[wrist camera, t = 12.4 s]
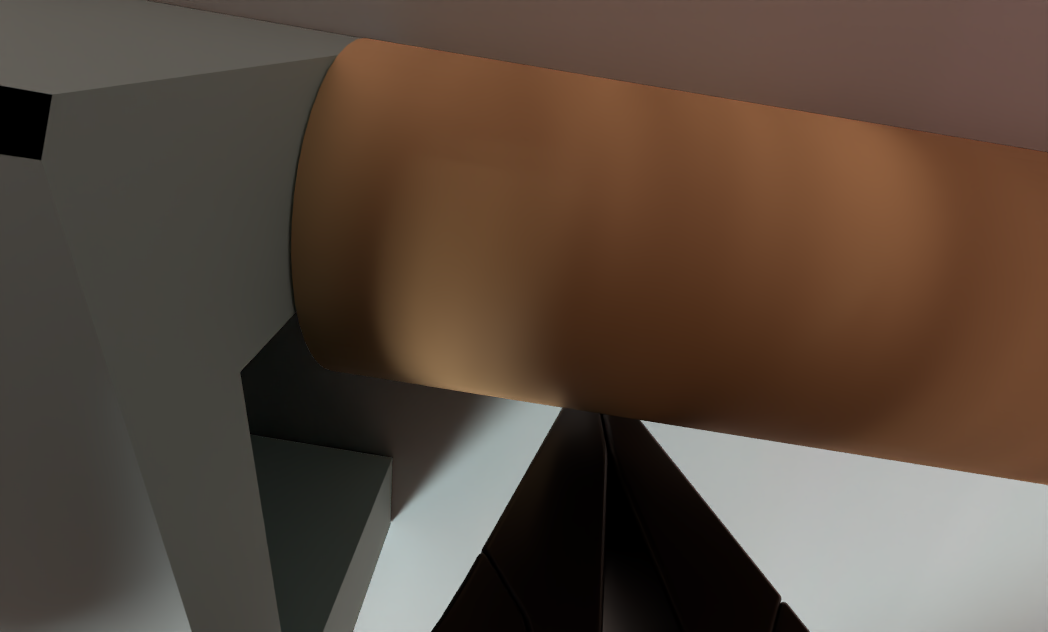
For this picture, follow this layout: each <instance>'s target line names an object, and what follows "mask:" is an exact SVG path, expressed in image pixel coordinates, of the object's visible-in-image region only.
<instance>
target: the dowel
mask: <svg viewBox="0 0 1048 632" xmlns="http://www.w3.org/2000/svg"><path fill="white" fill-rule="evenodd" d="M291 264H292V282H293V291H294V299H295V306H296V311H297V316H298V321H299V325H300V328H301V331H302V335H303V338H304V341H305V343H306V345H307V347H308V349H309V351H310V353H311V355H312V356H313V357H314V359H315V360H316V362H317V363H318V364H320V365H321V366H322V367H323V368H325V369H328V370H331V371H337V372H343V373H349V374H356V375H362V376H368V377H374V378H381V379H387V380H393V381H399V382H406V383H412V384H418V385H425V386H431V387H437V388H443V389H450V390H456V391H462V392H468V393H475V394H481V395H487V396H493V397H500V398H506V399H512V400H519V401H525V402H531V403H537V404H544V405H550V406H556V407H562V408H569V409H575V410H581V411H588V412H594V413H600V414H606V415H613V416H619V417H625V418H631V419H638V420H644V421H650V422H657V423H663V424H669V425H675V426H682V427H688V428H694V429H700V430H707V431H713V432H719V433H725V434H732V435H738V436H744V437H751V438H757V439H763V440H769V441H776V442H782V443H788V444H794V445H801V446H807V447H813V448H820V449H826V450H832V451H838V452H845V453H851V454H857V455H863V456H870V457H876V458H882V459H889V460H895V461H901V462H907V463H914V464H920V465H926V466H932V467H939V468H945V469H951V470H957V471H964V472H970V473H976V474H983V475H989V476H995V477H1001V478H1008V479H1014V480H1020V481H1026V482H1033V483H1039V484H1045V485H1048V152H1043V151H1037V150H1031V149H1025V148H1019V147H1013V146H1007V145H1001V144H995V143H989V142H983V141H977V140H971V139H965V138H959V137H953V136H947V135H941V134H935V133H929V132H923V131H917V130H911V129H905V128H899V127H893V126H887V125H881V124H875V123H869V122H864V121H858V120H852V119H846V118H840V117H834V116H828V115H822V114H816V113H810V112H804V111H798V110H792V109H786V108H780V107H774V106H768V105H762V104H756V103H750V102H744V101H738V100H732V99H726V98H720V97H714V96H708V95H702V94H696V93H690V92H685V91H679V90H673V89H667V88H661V87H655V86H649V85H643V84H637V83H631V82H625V81H619V80H613V79H607V78H601V77H595V76H589V75H583V74H577V73H571V72H565V71H559V70H553V69H547V68H541V67H535V66H529V65H523V64H517V63H511V62H505V61H500V60H494V59H488V58H482V57H476V56H470V55H464V54H458V53H452V52H446V51H440V50H434V49H428V48H422V47H416V46H410V45H404V44H398V43H392V42H386V41H380V40H374V39H368V38H362V39H357V40H355V41H353V42H351V43H350V44H348V45H347V46H346V47H345V48H344V49H343V50H342V51H341V52H340V53H339V54H338V56H337V57H336V59H335V60H334V62H333V63H332V65H331V66H330V68H329V70H328V72H327V74H326V76H325V78H324V80H323V82H322V84H321V86H320V88H319V91H318V94H317V96H316V99H315V102H314V105H313V107H312V110H311V113H310V117H309V121H308V124H307V128H306V131H305V135H304V139H303V144H302V149H301V154H300V159H299V163H298V170H297V177H296V184H295V191H294V201H293V213H292V229H291Z"/></svg>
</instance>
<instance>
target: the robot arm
mask: <svg viewBox="0 0 1048 632" xmlns="http://www.w3.org/2000/svg"><path fill="white" fill-rule="evenodd" d="M431 632H810V631H809V630H808V629H807V628H806V626H805V625H804V624H803V623H802V621H801V620H800V619H799V618H798V616H797V615H796V614H795V613H794V611H793V610H792V609H791V608H790V606H789V605H788V604H787V603H785V602H781V596H780V594H779V593H778V592H777V591H776V589H775V588H774V587H773V586H772V584H771V583H770V582H769V581H768V579H767V578H766V577H765V576H764V574H763V573H762V572H761V571H760V569H759V568H758V567H757V566H756V564H755V563H754V562H753V561H752V559H751V558H750V557H749V556H748V554H747V553H746V552H745V551H744V549H743V548H742V547H741V546H740V544H739V543H738V542H737V541H736V539H735V538H734V537H733V536H732V534H731V533H730V532H729V531H728V529H727V528H726V527H725V526H724V524H723V523H722V522H721V521H720V519H719V518H718V517H717V516H716V514H715V513H714V512H713V511H712V509H711V508H710V507H709V506H708V504H707V503H706V502H705V501H704V499H703V498H702V497H701V496H700V494H699V493H698V492H697V491H696V489H695V488H694V487H693V486H692V484H691V483H690V482H689V481H688V479H687V478H686V477H685V476H684V474H683V473H682V472H681V471H680V469H679V468H678V467H677V466H676V464H675V463H674V462H673V461H672V459H671V458H670V457H669V456H668V454H667V453H666V452H665V451H664V449H663V448H662V447H661V446H660V444H659V443H658V442H657V441H656V439H655V438H654V437H653V436H652V434H651V433H650V432H649V431H648V429H647V428H646V427H645V426H644V424H643V423H642V422H641V421H640V420H638V419H631V418H625V417H619V416H613V415H606V414H600V413H594V412H588V411H581V410H575V409H569V408H562V409H561V411H560V413H559V415H558V416H557V418H556V420H555V422H554V423H553V425H552V427H551V429H550V430H549V432H548V434H547V436H546V437H545V439H544V441H543V443H542V445H541V446H540V448H539V450H538V452H537V453H536V455H535V457H534V459H533V460H532V462H531V464H530V466H529V467H528V469H527V471H526V473H525V475H524V476H523V478H522V480H521V482H520V483H519V485H518V487H517V489H516V490H515V492H514V494H513V496H512V497H511V499H510V501H509V503H508V505H507V506H506V508H505V510H504V512H503V513H502V515H501V517H500V519H499V520H498V522H497V524H496V526H495V527H494V529H493V531H492V533H491V535H490V536H489V538H488V540H487V542H486V543H485V545H484V547H483V549H482V552H481V554H479V555H478V557H477V558H476V560H475V562H474V564H473V565H472V567H471V569H470V571H469V572H468V574H467V576H466V578H465V579H464V581H463V583H462V584H461V586H460V588H459V589H458V591H457V592H456V594H455V596H454V597H453V599H452V600H451V602H450V604H449V605H448V607H447V609H446V610H445V612H444V613H443V615H442V617H441V618H440V620H439V621H438V623H437V624H436V625H435V627H434V628H433V630H432V631H431Z"/></svg>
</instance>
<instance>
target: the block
mask: <svg viewBox="0 0 1048 632" xmlns="http://www.w3.org/2000/svg"><path fill="white" fill-rule="evenodd" d="M357 39H362V38H357V37H352V36H346V35H340V34H334V33H329V32H323V31H317V30H312V29H306V28H300V27H294V26H289V25H283V24H277V23H272V22H266V21H260V20H255V19H249V18H243V17H237V16H232V15H226V14H220V13H215V12H209V11H203V10H197V9H192V8H186V7H180V6H175V5H169V4H163V3H157V2H152V1H146V0H0V632H353V630H354V627H355V624H356V621H357V618H358V615H359V612H360V610H361V607H362V604H363V601H364V598H365V595H366V592H367V590H368V587H369V584H370V581H371V578H372V575H373V572H374V570H375V567H376V564H377V561H378V558H379V555H380V553H381V550H382V547H383V544H384V541H385V538H386V535H387V533H388V530H389V527H390V521H391V489H392V458H391V457H385V456H379V455H373V454H366V453H360V452H354V451H348V450H342V449H336V448H330V447H324V446H318V445H311V444H305V443H299V442H293V441H287V440H281V439H275V438H269V437H263V436H257V435H250V432H249V425H248V419H247V413H246V406H245V400H244V394H243V388H242V381H241V375H240V371H241V370H242V369H243V368H244V367H245V366H246V365H247V364H248V363H249V362H250V361H251V360H252V359H253V358H254V356H255V355H256V354H257V353H258V352H259V351H260V350H261V349H262V348H263V347H264V346H265V345H266V344H267V343H268V342H269V340H270V339H271V338H272V337H273V336H274V335H275V334H276V333H277V332H278V331H279V330H280V329H281V328H282V327H283V325H284V324H285V323H286V322H287V321H288V320H289V319H290V318H291V317H292V316H293V315H294V314H295V313H296V312H297V311H296V306H295V299H294V291H293V282H292V264H291V229H292V213H293V201H294V191H295V184H296V177H297V170H298V163H299V159H300V154H301V149H302V144H303V139H304V135H305V131H306V128H307V124H308V121H309V117H310V113H311V110H312V107H313V105H314V102H315V99H316V96H317V94H318V91H319V88H320V86H321V84H322V82H323V80H324V78H325V76H326V74H327V72H328V70H329V68H330V66H331V65H332V63H333V62H334V60H335V59H336V57H337V56H338V54H339V53H340V52H341V51H342V50H343V49H344V48H345V47H346V46H347V45H348V44H350V43H351V42H353V41H355V40H357Z"/></svg>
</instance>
